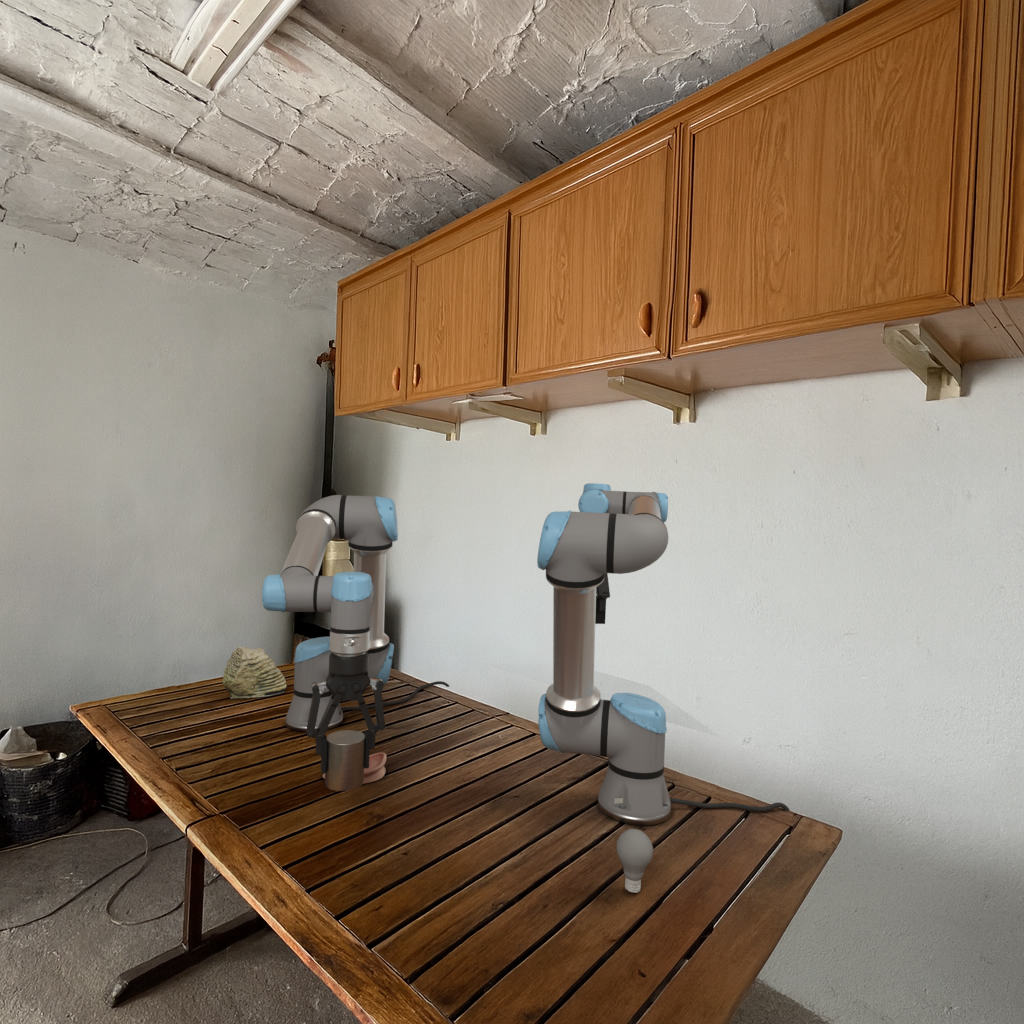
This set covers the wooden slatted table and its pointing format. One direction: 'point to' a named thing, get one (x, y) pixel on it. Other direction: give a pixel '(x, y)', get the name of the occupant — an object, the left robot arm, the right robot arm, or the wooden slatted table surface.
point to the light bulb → (634, 857)
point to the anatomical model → (374, 768)
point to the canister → (345, 760)
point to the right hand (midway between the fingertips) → (591, 618)
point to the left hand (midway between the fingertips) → (344, 767)
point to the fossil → (252, 674)
